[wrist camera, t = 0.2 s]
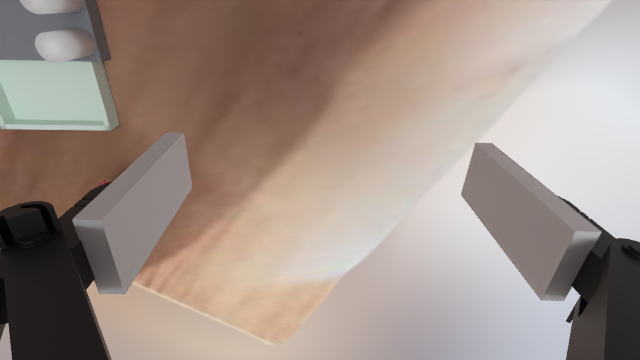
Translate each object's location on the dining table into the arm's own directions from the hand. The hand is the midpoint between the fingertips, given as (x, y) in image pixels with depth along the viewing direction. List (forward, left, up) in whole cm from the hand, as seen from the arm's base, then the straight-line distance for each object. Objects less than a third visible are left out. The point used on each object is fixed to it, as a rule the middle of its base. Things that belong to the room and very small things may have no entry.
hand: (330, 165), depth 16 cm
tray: (+4, -32, -28) cm, 43 cm away
